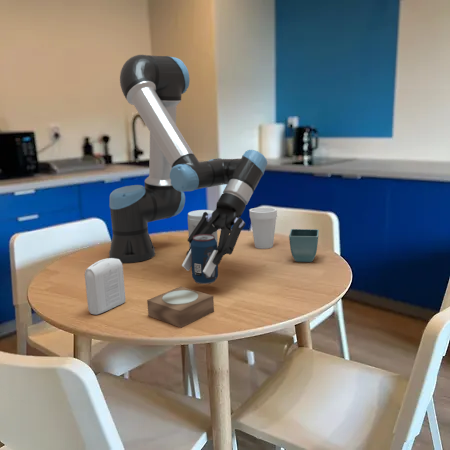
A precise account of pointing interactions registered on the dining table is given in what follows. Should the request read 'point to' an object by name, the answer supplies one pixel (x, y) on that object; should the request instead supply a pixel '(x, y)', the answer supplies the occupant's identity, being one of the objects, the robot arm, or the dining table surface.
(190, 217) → the supplement tub
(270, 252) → the dining table surface
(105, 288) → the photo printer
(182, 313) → the plinth
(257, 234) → the foam cup
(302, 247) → the flower pot
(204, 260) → the soda can
